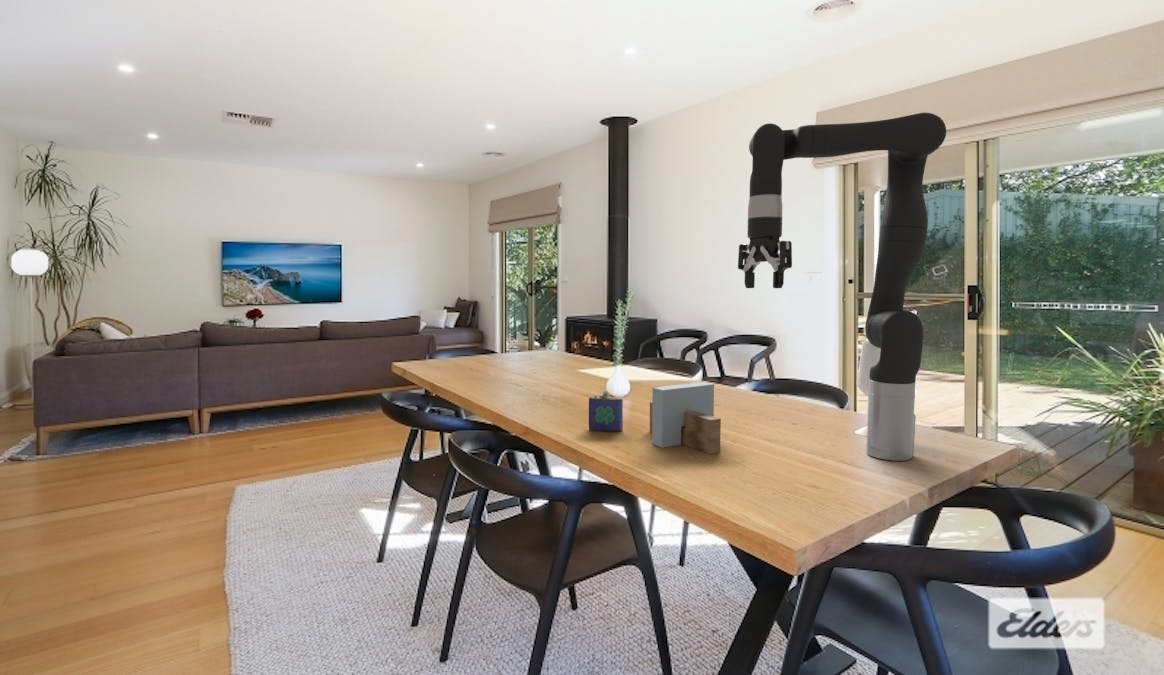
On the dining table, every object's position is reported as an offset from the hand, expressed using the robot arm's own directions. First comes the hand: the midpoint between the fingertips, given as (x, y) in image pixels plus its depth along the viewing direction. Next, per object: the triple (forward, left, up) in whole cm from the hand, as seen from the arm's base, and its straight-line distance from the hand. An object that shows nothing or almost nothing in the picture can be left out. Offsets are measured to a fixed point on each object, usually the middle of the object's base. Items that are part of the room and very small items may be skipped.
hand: (763, 288), depth 137 cm
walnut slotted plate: (+11, -15, -38) cm, 42 cm away
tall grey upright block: (+11, -15, -38) cm, 42 cm away
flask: (+22, -34, -38) cm, 56 cm away
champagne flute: (-36, +3, -38) cm, 53 cm away
